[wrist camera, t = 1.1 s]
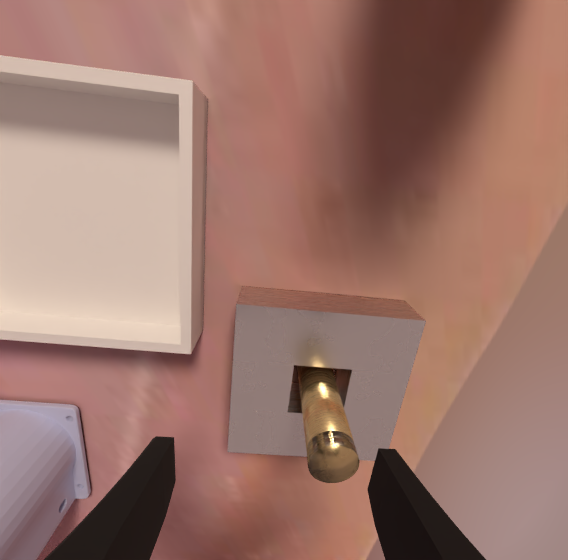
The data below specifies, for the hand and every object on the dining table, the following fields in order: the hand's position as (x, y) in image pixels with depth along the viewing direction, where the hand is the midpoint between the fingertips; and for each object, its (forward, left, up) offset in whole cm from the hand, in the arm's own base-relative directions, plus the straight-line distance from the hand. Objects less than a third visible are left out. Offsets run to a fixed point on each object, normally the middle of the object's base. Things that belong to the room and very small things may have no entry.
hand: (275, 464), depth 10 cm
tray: (+6, +12, -10) cm, 17 cm away
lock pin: (-3, -3, -10) cm, 11 cm away
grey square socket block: (-3, -3, -10) cm, 11 cm away
